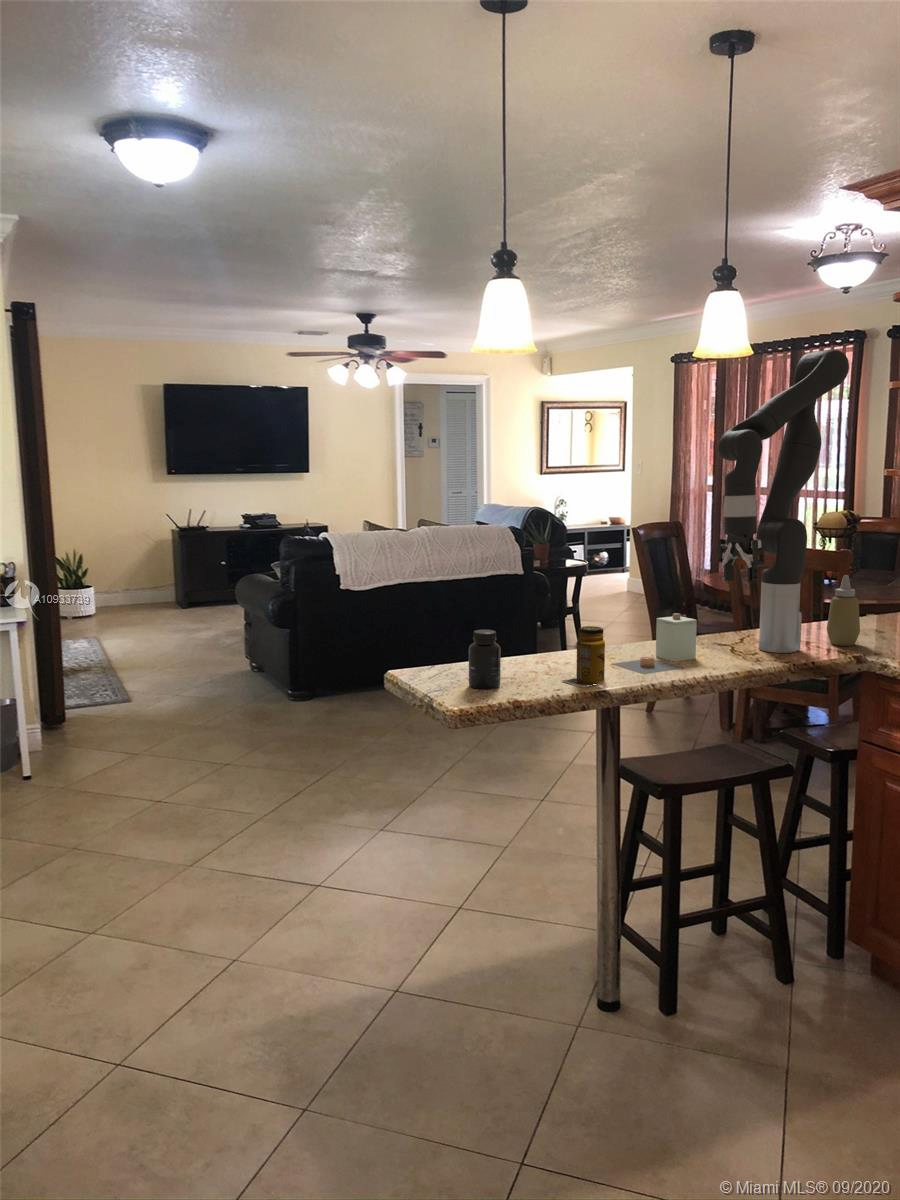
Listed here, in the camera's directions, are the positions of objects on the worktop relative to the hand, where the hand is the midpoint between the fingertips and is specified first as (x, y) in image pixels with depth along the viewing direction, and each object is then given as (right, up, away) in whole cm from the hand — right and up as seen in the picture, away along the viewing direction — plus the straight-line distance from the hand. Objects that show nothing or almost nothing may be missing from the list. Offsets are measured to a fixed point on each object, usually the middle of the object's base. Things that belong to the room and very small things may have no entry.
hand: (740, 581), depth 218 cm
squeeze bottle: (+32, -16, +16) cm, 39 cm away
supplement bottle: (-63, -23, -25) cm, 71 cm away
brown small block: (-25, -20, -10) cm, 33 cm away
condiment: (-40, -23, -22) cm, 51 cm away
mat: (-25, -20, -9) cm, 33 cm away
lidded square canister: (-16, -19, -1) cm, 25 cm away
